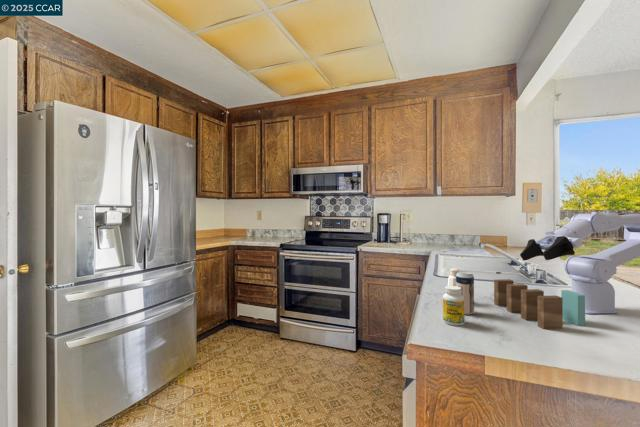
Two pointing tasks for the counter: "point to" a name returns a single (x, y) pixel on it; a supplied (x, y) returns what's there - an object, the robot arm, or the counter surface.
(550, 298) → the walnut domino
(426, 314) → the counter surface
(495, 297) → the walnut domino
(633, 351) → the counter surface
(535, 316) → the walnut domino
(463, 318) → the supplement bottle
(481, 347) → the counter surface
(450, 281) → the pepper shaker
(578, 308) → the teal domino
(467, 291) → the beer can
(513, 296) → the walnut domino
